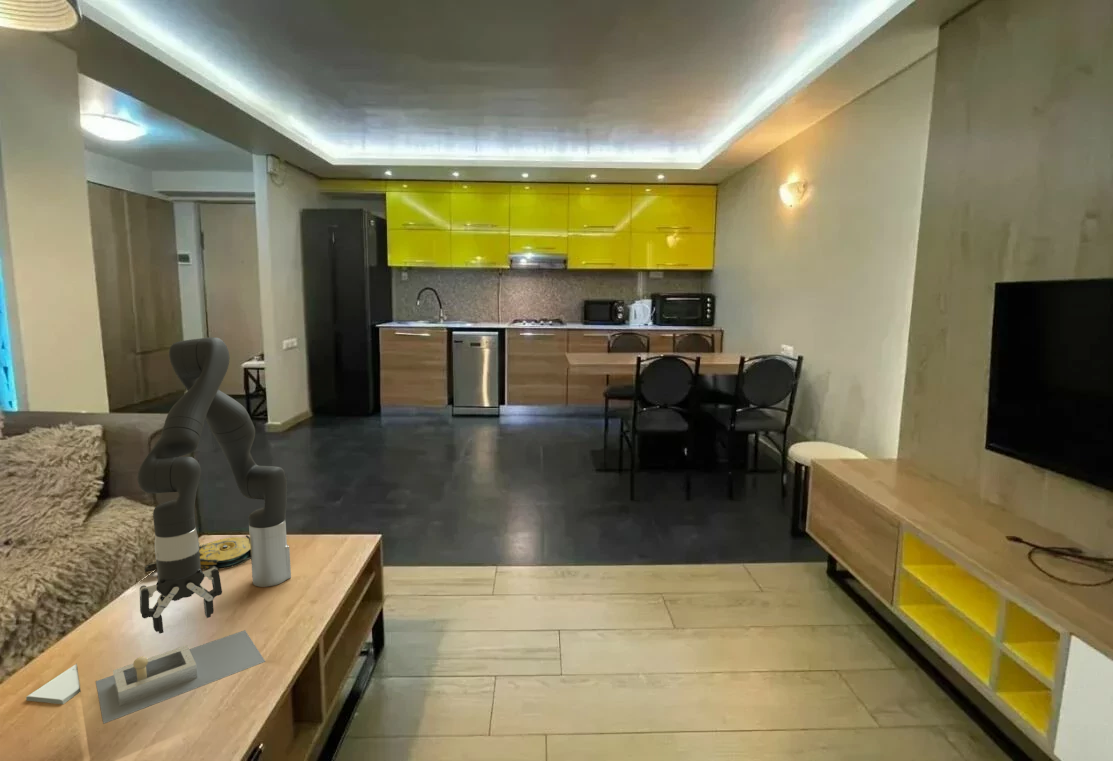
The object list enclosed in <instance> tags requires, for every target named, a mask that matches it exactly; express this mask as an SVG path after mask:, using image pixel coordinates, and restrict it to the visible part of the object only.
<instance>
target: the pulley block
mask: <svg viewBox="0 0 1113 761" xmlns="http://www.w3.org/2000/svg"><path fill="white" fill-rule="evenodd" d="M199 553H200V564H201V570H203V571H206V570H209V569H210V568H211V567H212V566H215V567H216V568H217V569H218V571H219V570H221V569H220V568H224V569H228V568H229V567H230V568H233V567H236V566H238V564H239V565H241V564H244V563H246V562H247V561H249V560H251V548H250V535H249V536H248V535H245V537H239V536H238V537H237V536H236V537H225V538H221V539H217V540H214V541H210V542H208V543H205V544H201V545H200V544H199ZM235 565H236V566H235ZM232 566H233V567H232ZM154 571H157V564H156V561H152V562H150V563H148V564H147V565H145V566H144V573H148V572H154Z"/></svg>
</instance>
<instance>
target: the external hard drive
mask: <svg viewBox="0 0 1113 761" xmlns="http://www.w3.org/2000/svg"><path fill="white" fill-rule="evenodd" d="M81 692H82V690H81V683H80V675H79V670H78V663H75V664H74V665H72V666H71V667H69V668H68V669H65V671H63V672H62V673H59V674H58V675H57V676H55V677H54V678H53V679H51V680H50V681H48V682H46V683H44V684H43V685H42V686H40V687H39V688H37V689H36V690H34V691H33V692H31V693H30V694H28V695H26V696H25V700H26V701H27V702H37V703H46V704H48V703H49V704H56V705H57V704H59V705H64V704H66V703H67V702H68V701H70V700H71V699H72V698H74V697H76V695H78V694H80V693H81Z"/></svg>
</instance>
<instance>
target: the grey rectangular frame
mask: <svg viewBox="0 0 1113 761" xmlns="http://www.w3.org/2000/svg"><path fill="white" fill-rule="evenodd" d="M189 649H190V648H189V646H188V645H187V644H186V645H184V646H181V647H178V648H175V649H172V650H169V651H166V652H163V653H160V654H158V655H154V656H151V657H148V658H147V659H148V664H147V665H146V672H147V676H149V675H152V674H154V673H157V672H160V671H163V670H166V669H169V668H171V667H174V666H177V665H180V664H182V666H180V667H177V668H174V669H171V670H168V671H166V672H163V673H160V674H157V675H154V676H152V677H149V678H146V679H143V680H140V681H138V682H135V683H132V684H129V685H127V684H126V683H129V682H132V681H135V680H137V672H136V669H135V668H134V666H133V663H131V664H127V665H125V666H122V667H119V668H116V669H113V670H112V672H113V673H112V675H114V684H115V688H116V693H117V697H118V701H119V705H120V707H121V706H123V705H126V704H129V703H131V702H134V701H137V700H139V699H142V698H145V697H147V696H150V695H153V694H155V693H158V692H161V691H163V690H166V689H169V688H171V687H174V686H177V685H179V684H182V683H185V682H187V681H190V680H193V679H195V678H197V667H196V663H195V661H194V659H193V656H192V654H191V652H190V650H189Z"/></svg>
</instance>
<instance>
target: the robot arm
mask: <svg viewBox="0 0 1113 761" xmlns="http://www.w3.org/2000/svg"><path fill="white" fill-rule="evenodd" d="M168 356H169V362H170V364H171V367H172V369H173V372H174V373H175V375H176V376H177V378H178V379H179V381H180V382H181V383H182V385H183V386H184V388H185V389H186V391H187V392H185V393H184V394H183V395H182V396H181V397H180V398H179V399H178V400H177V401H176V402H175V403H174V404H173V406H171V408H170V410H169V412H168V413H167V416H166V418H165V421H164V424H163V427H162V431H161V434H160V437H159V439H158V440H157V442H156V443H155V444H154V446H153V448H152V449H151V450H150V451H149V453H148V454H147V455H146V457H145V458H144V460H143V461H142V463H141V464H140V467H139V470H138V472H137V484H138V486H139V487H140V490H142V491H143V492H144V493H147V494H163V493H164V494H165V493H178V498H176V499H172V500H169V501H165V502H161V503H159V504H158V505H156V506H155V507H154V509H153V511H152V512H153V514H152V518H153V528H154V553H155V554H154V555H155V562H156V564H157V570H156V572H157V582H156V583H155V584H153V585H148V586H147V585H141V586H139V611H140V614H141V618H142V619H147V618H152V625H153V629H154V631H155V632H156V633H158V634H159V635H160V634H162V633H164V625H163V624H164V623H163V616H162V613H163V612H164V610H165V609H166V608H168V606H169V604H170V603H171V601H174V602H177V601H179V600H181V599H184V598H185V599H187V598H189V597H192V596H193V595H194V594H196V595H197V596H199V597H200V598H203V608H204V609H203V610H204V615H205V617H206V619H208V618H211V615H212V614H214V609H215V608H214V599H215V598H216V597H218V596H221V595H222V594H223V589H222V582H221V576H220V571H219V570H218V569H217V568H216V567H215V566H212V567H211V568H210V569H209V570H203V571H202V569H201V564H200V553H199V546H200V542H199V535H198V532H197V527H196V517H195V503H196V498H197V491H198V489H199V484H200V480H201V475H202V469H201V465H200V463H199V462H198V460H197V459H195V458H194V457H192V456H187V455H191V454H192V453H194V452H195V451H196V450H197V449H198V447H199V445H200V444H199V443H200V440H201V436H202V433H203V429H204V424H205V421H206V423H207V426H208V427H209V430H210V431H211V433H212V435H213V437H214V439H215V441H216V442H217V443H218V445H219V447H220V449H221V451H222V453H223V455H224V457H225V458H226V461H227V463H228V465H229V467H230V470H231V471H232V472H231V473H232V475H233V478H234V480H235V483H236V486H237V488H238V490H239V491H240V493H241V494H242V496H244V497H245V498H247V499H252V500H264V502H263V503H264V505H263V506H264V507H260V508H258V509H255V510H253V511H251V513H249V515H248V530H249V531H248V532H249V537H250V548H251V559H250V561H251V562H250V563H251V578H252V584H253V585H254V586H255V587H260V588H261V587H262V588H266V587H267V588H268V587H273V586H277V585H279V584H282V583H284V582H285V581H287V580H289V579H291V578H292V572H291V568H292V567H291V553H290V552H291V551H290V546H289V545H288V543H287V542H288V541H287V523H286V514H287V513H286V512H287V505H288V504H287V503H288V500H287V497H288V496H287V494H288V491H287V490H288V487H287V486H288V480H287V475H286V472H285V470H284V469H283V468H282V467H281V466H274V465H273V466H271V465H258V464H257V463H256V462H255V461H254V458H253V456H252V453H251V450H252V446H253V444H254V440H255V438H256V437H255V436H256V428H255V426H254V423H253V421H252V419H251V416H250V414H249V413H248V411H247V409H246V407H245V406H243V405H242V404H241V403H240V402H239V401H237V400H235V399H234V398H233V397H231V396H229V395H228V394H226V393H225V392H223V391H221V389H220V387H221V385H222V383H223V381H224V379H225V377H226V374H227V372H228V370H229V366H230V351H229V348H228V346H227V344H226V343H225V341H224V340H222V339H221V338H219V337H215V336H214V337H212V336H211V337H201V338H193V339H192V338H191V339H184V340H179V341H176V342H173V343H172V344H171V346H170V347H169V350H168ZM205 578H207V579H208V580H210V581H211V584H212V588H211V590H207V589H206V588H205V587H204V586H202V582H203V581H204V579H205ZM156 591H157V592H158V593H159V594H160V595H159V596H158V598H157V600H156V602H155V604H154V606H152V608H150V598H152V597H153V596H154V593H155V592H156Z"/></svg>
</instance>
